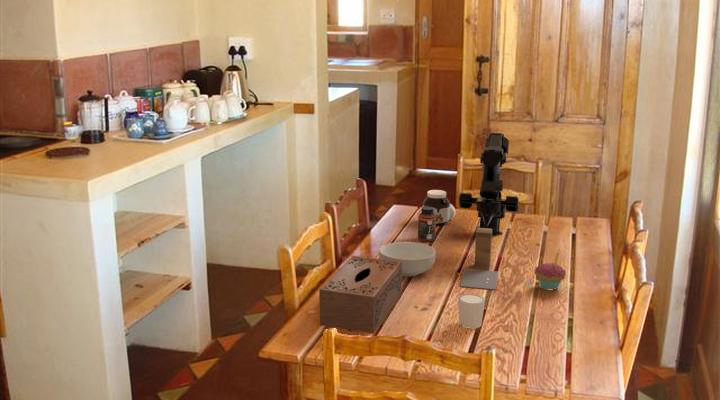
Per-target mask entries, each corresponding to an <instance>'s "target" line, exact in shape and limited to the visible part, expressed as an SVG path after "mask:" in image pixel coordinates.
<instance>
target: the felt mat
mask: <svg viewBox="0 0 720 400" xmlns="http://www.w3.org/2000/svg"><path fill="white" fill-rule="evenodd" d="M498 275H499V271H495V270H489V271H486V270H475V269H474V268H464V271H463V275H462V278H461V281H460V288H469V289H478V288H483V289H482V290H489V291H490V290H491V291H497V290H496V289H497V283H498V277H499V276H498ZM487 278H489V280H487ZM486 282H488V283H486Z"/></svg>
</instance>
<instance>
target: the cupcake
mask: <svg viewBox="0 0 720 400" xmlns="http://www.w3.org/2000/svg"><path fill="white" fill-rule="evenodd" d="M560 250H561V249H558V251H557V250H556V251H557V252H556V254H555V258H554V262H549V263H541V264H539V265H538V266H536V268H535V270H534V274H535V277H536V278H537V279H538V281H539V285H540V286H539V287H540V288H541V287H542V288H544V289H543V290H545V289H555V288H557V287H558V288H559V286H560V284H561V282H562V281H563V280H564V279H565V277H566V274H567V272H566V270H565V269H564V268H563V267H562V266H560V265H559V264H558V259H559V255H560ZM542 288H541V289H542ZM558 288H557V289H558Z"/></svg>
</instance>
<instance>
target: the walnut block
mask: <svg viewBox="0 0 720 400" xmlns="http://www.w3.org/2000/svg"><path fill="white" fill-rule="evenodd" d="M492 239H493V236H492V229H489V228H479V227H477V228H476V232H475V249H474V250H475V251H474V267H473V269H475V270H486V271H490V268H491V257H492V255H491V254H492V241H493V240H492Z"/></svg>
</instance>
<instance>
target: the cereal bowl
mask: <svg viewBox="0 0 720 400" xmlns="http://www.w3.org/2000/svg"><path fill="white" fill-rule="evenodd" d="M436 253H437V252H436V250H435V248H433V247H432V246H430V245H428V244H426V243H421V242H417V241H416V242H413V241H397V242H396V241H395V242H390V243H386V244H384V245H382V246H381V247H379V249H378V256H379V258H378V259H383V260H391V261H399V262H402V277H415V276H418V275H419V274H421V273H425V272H426V271H429V270H430V269H431V268H432V267H433V266H434V264H435V261H436Z"/></svg>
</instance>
